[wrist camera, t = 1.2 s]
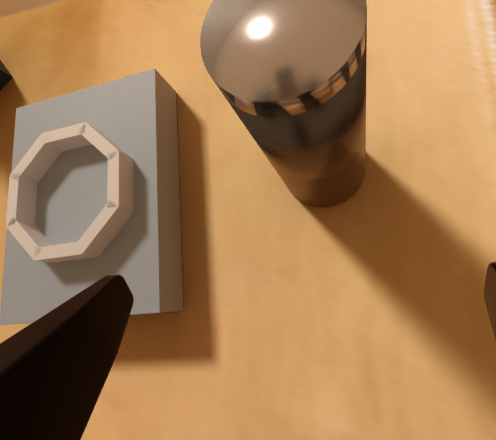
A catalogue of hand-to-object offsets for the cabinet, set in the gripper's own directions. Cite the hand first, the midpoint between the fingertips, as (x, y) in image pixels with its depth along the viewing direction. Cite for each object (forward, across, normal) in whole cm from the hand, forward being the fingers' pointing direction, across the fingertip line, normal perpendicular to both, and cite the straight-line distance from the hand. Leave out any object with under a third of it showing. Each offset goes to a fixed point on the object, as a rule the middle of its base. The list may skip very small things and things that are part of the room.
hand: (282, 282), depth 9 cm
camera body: (+14, +16, +5) cm, 22 cm away
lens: (+15, 0, +4) cm, 15 cm away
